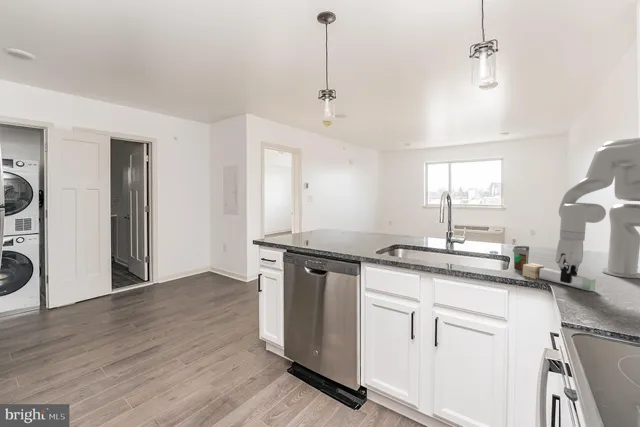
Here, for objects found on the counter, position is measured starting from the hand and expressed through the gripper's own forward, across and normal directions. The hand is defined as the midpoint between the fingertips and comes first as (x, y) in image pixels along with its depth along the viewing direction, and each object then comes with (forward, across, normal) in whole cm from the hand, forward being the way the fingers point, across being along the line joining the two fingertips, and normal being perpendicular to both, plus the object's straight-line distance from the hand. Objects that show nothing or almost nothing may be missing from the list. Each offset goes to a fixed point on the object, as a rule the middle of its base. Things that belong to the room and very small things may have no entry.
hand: (568, 281), depth 120 cm
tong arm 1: (+1, +1, -1) cm, 2 cm away
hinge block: (+2, 0, -13) cm, 13 cm away
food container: (+2, -9, -25) cm, 26 cm away
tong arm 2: (+1, -1, -1) cm, 2 cm away
